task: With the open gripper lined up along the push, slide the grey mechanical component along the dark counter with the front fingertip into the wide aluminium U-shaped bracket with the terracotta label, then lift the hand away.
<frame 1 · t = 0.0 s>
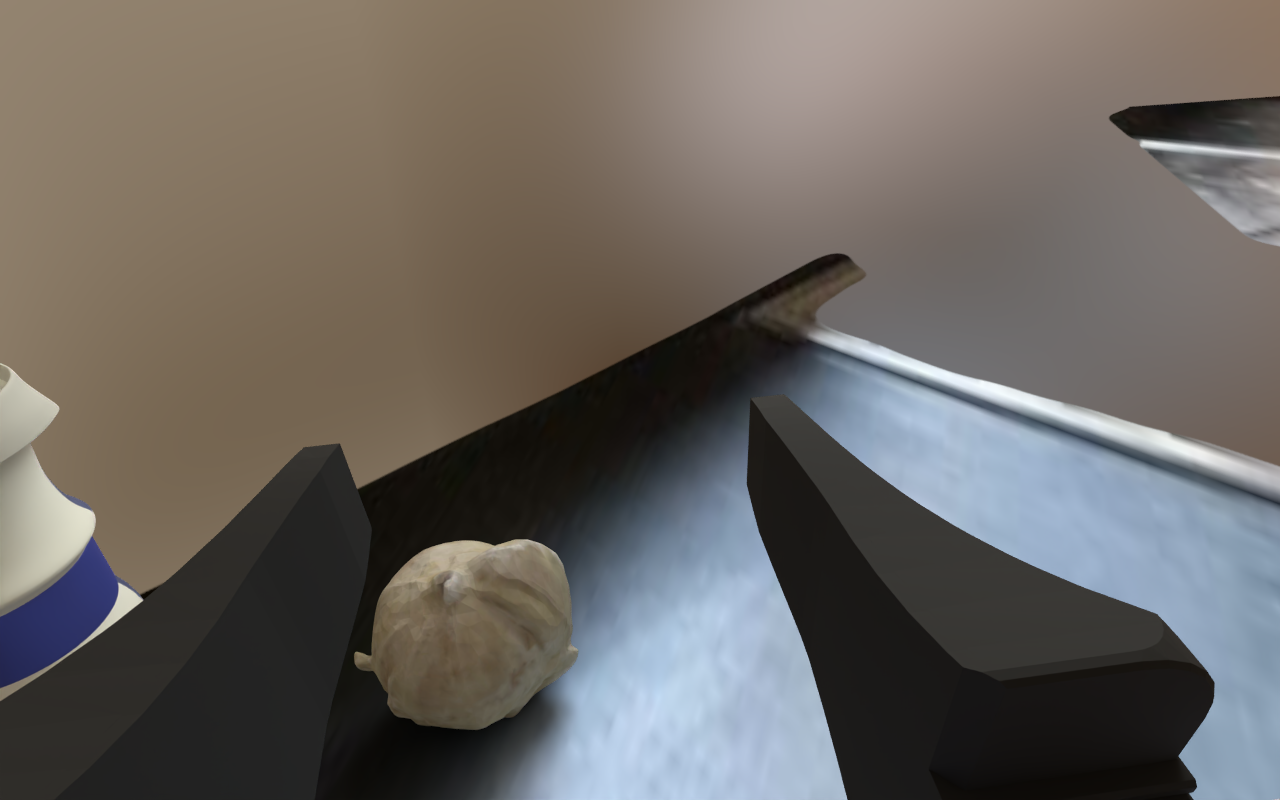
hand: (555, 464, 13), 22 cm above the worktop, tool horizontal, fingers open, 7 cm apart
garlic bulb: (483, 696, 35), on the worktop
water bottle: (130, 796, 32), on the worktop
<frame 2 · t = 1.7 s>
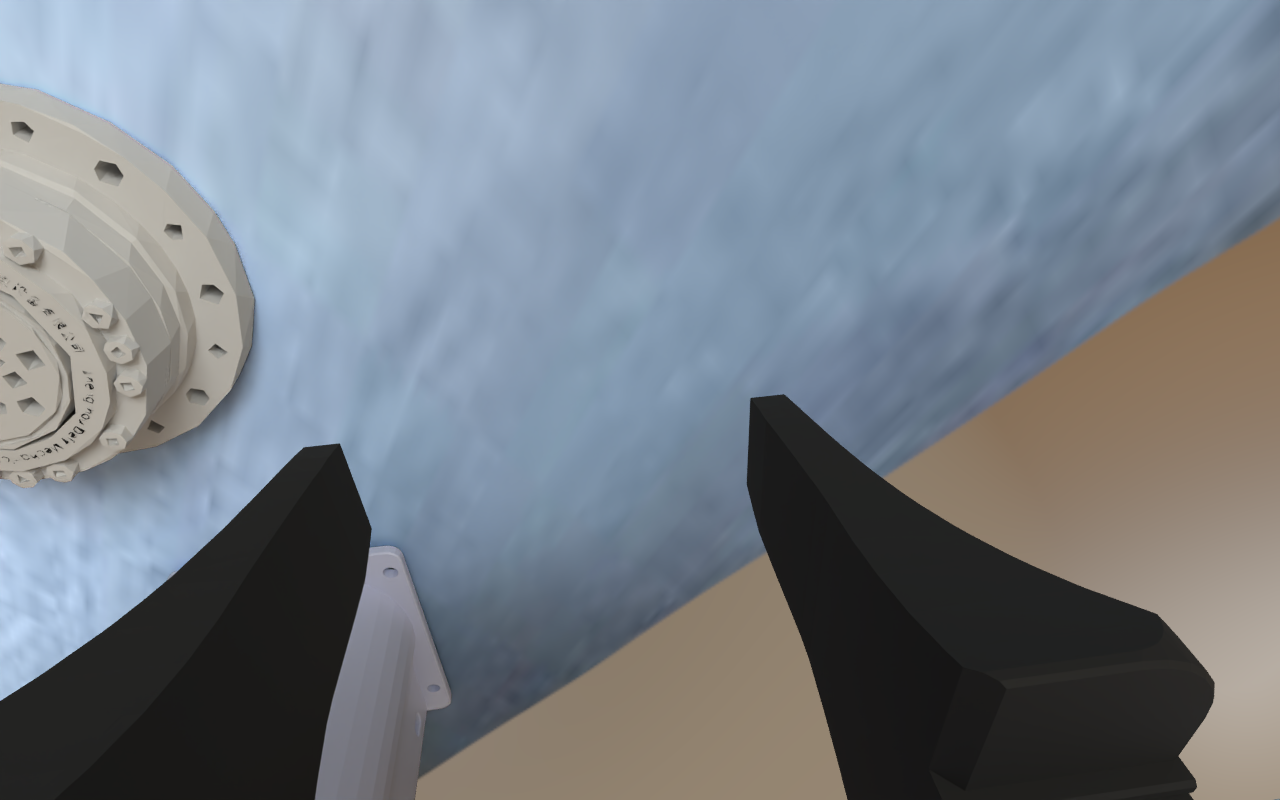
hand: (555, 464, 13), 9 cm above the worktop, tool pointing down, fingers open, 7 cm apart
mechanical component: (59, 272, 19), on the worktop
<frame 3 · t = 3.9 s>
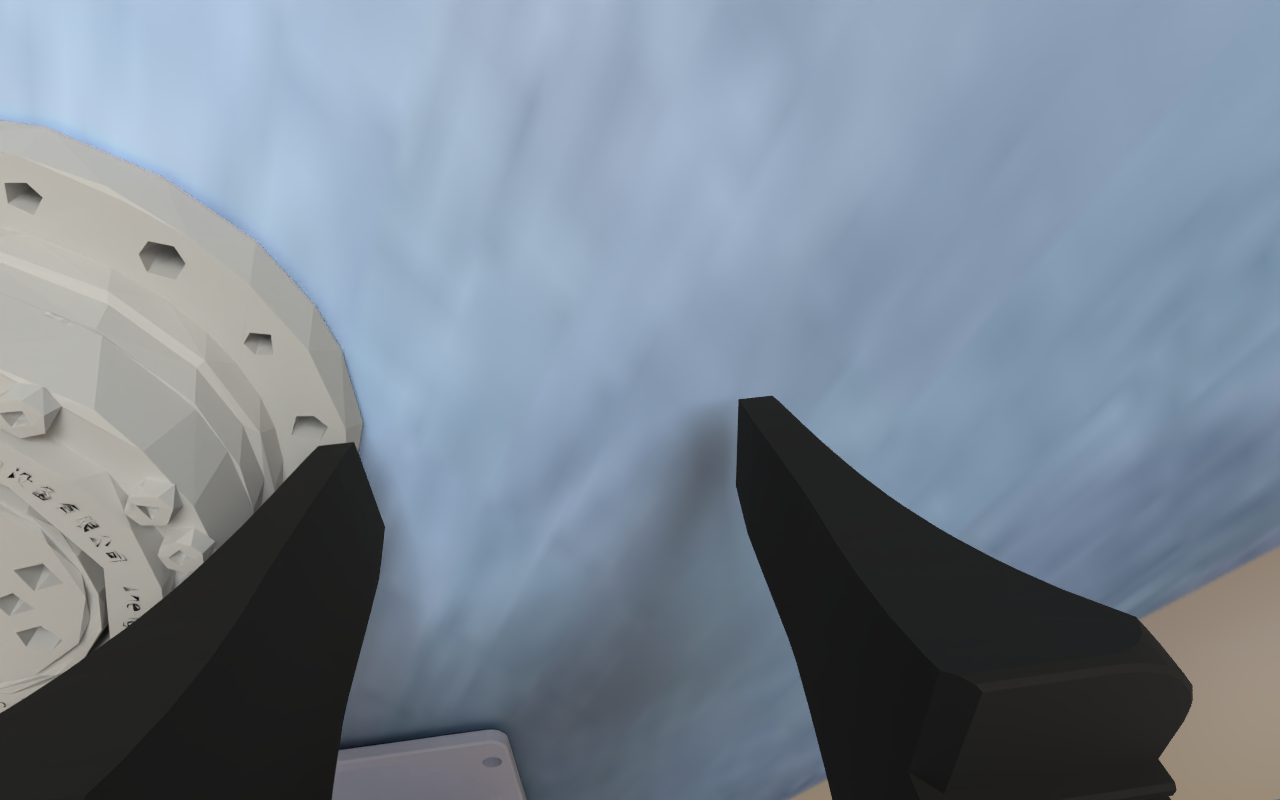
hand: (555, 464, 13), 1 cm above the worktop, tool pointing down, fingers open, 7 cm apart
mechanical component: (79, 388, 13), on the worktop, touching gripper
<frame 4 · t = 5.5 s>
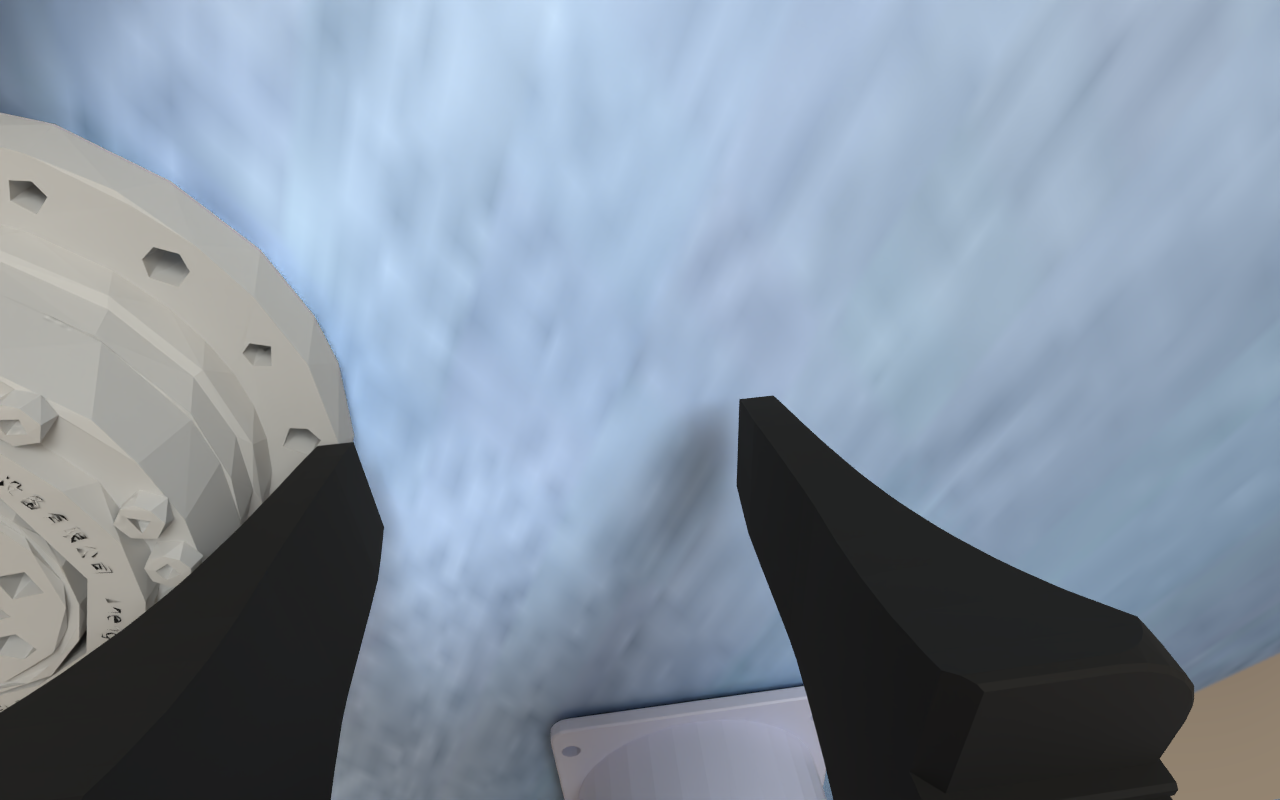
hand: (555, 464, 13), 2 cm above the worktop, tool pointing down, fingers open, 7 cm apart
mechanical component: (63, 385, 13), on the worktop, touching gripper
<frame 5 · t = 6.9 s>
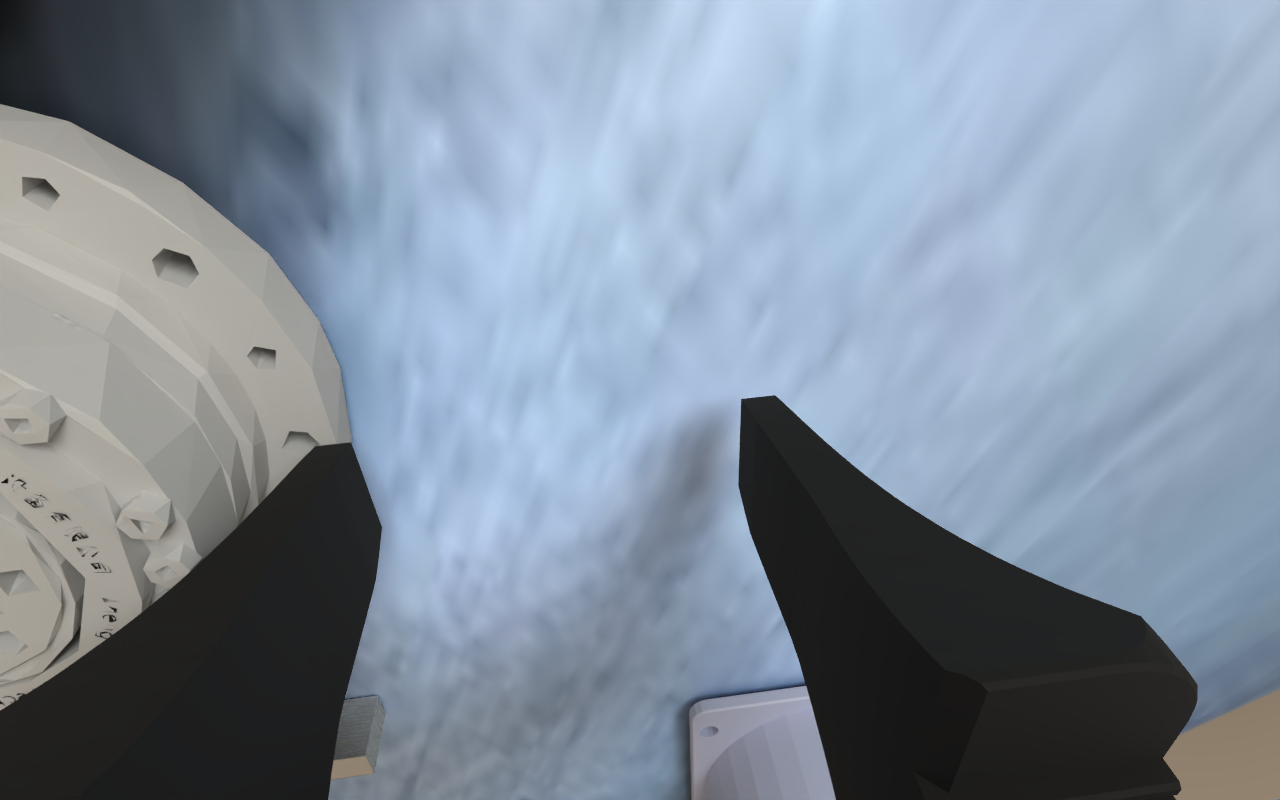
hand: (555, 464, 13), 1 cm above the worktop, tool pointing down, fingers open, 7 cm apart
mechanical component: (59, 379, 13), on the worktop, touching gripper
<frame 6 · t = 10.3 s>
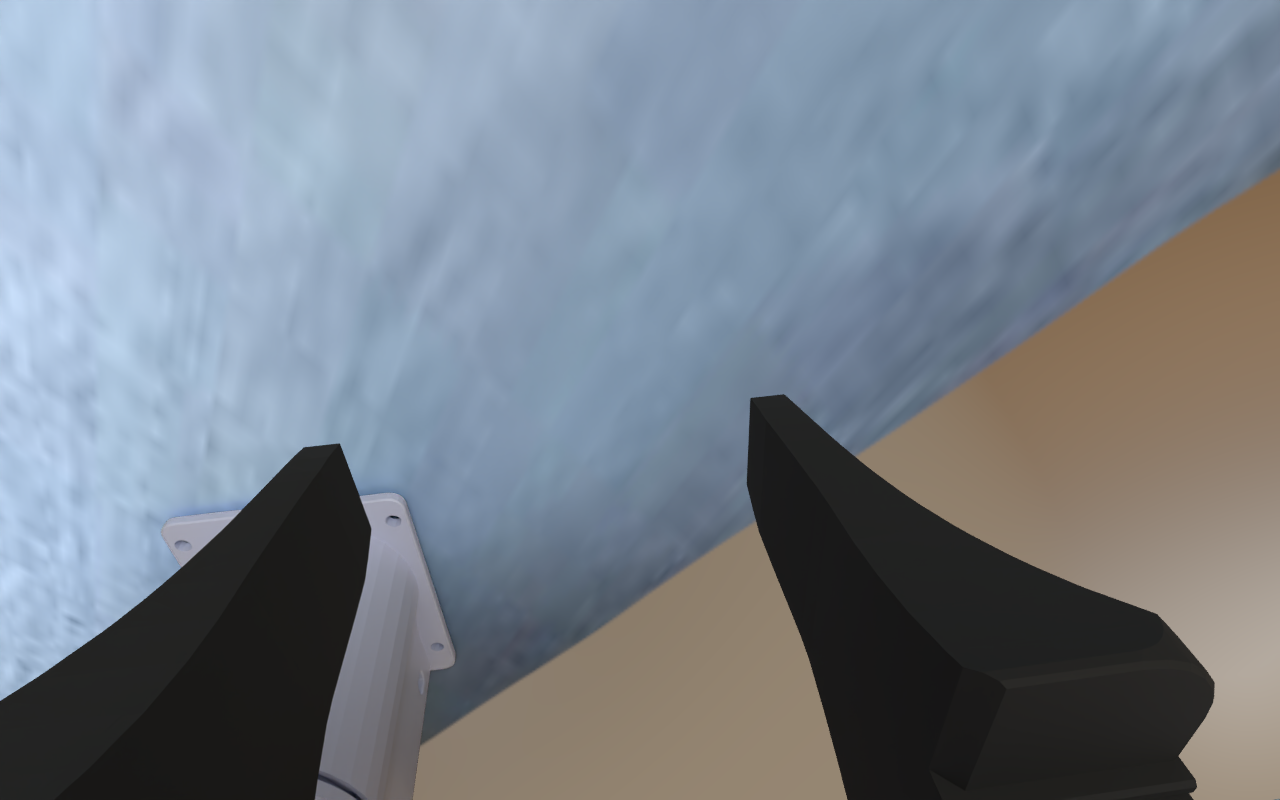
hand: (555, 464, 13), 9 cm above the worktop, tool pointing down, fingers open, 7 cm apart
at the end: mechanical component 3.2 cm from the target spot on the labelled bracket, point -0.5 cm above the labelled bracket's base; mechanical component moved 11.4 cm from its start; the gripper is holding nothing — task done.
